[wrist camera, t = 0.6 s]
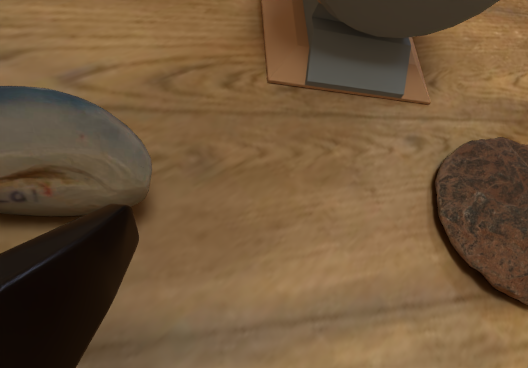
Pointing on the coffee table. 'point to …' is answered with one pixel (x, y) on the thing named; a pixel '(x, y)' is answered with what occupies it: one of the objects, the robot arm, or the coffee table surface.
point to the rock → (488, 210)
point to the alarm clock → (356, 43)
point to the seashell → (66, 155)
